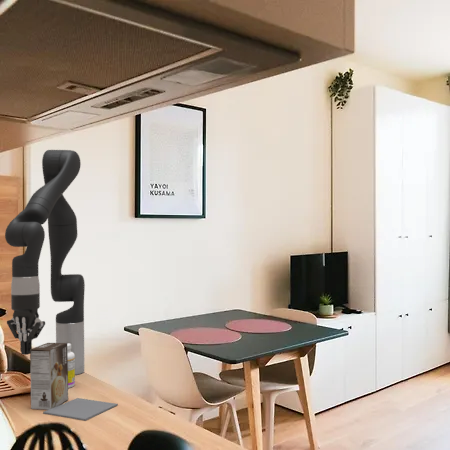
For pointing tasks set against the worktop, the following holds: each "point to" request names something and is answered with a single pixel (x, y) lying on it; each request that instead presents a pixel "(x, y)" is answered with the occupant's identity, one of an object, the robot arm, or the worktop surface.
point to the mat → (80, 409)
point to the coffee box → (49, 375)
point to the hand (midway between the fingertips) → (26, 354)
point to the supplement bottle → (71, 366)
